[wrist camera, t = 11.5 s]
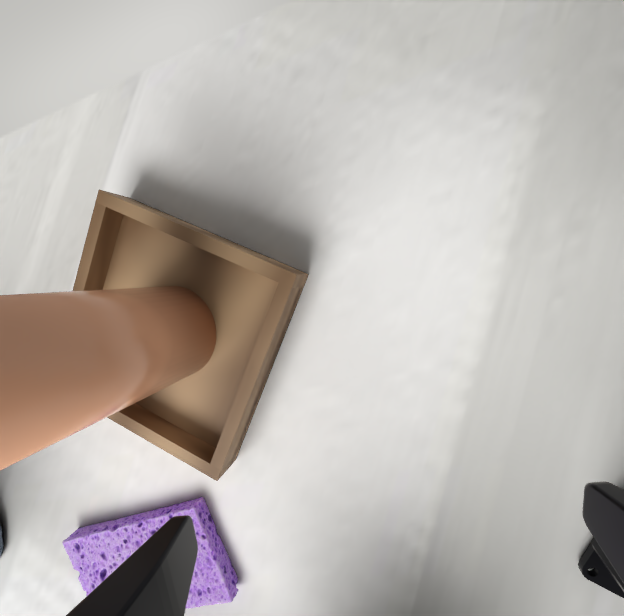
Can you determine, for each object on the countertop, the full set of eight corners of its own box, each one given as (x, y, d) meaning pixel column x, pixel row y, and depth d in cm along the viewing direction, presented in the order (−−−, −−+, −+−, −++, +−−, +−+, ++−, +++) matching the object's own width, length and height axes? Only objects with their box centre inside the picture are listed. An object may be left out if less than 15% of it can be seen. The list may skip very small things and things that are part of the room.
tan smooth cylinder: (211, 282, 22) (-40, 294, 9) (221, 376, 22) (-5, 509, 10) (129, 289, 23) (-185, 308, 11) (140, 377, 24) (-148, 496, 11)
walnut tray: (308, 274, 21) (296, 274, 19) (235, 459, 24) (217, 480, 21) (129, 197, 24) (98, 189, 21) (80, 373, 26) (48, 383, 24)
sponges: (82, 524, 29) (60, 541, 27) (209, 491, 25) (194, 508, 23) (114, 603, 29) (95, 626, 27) (244, 580, 25) (232, 604, 24)
